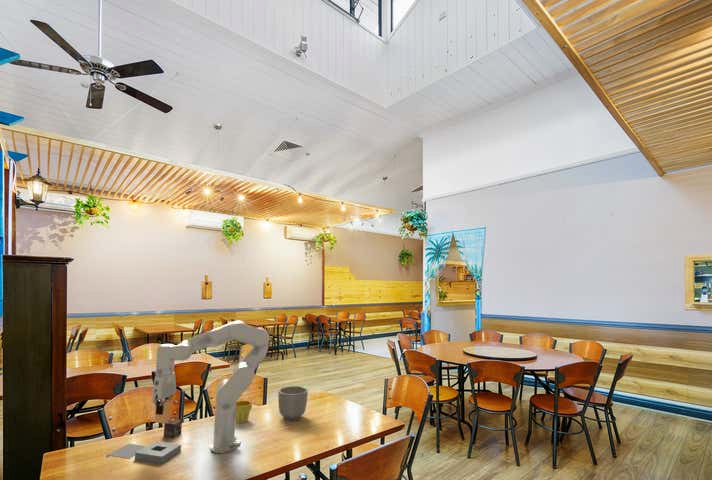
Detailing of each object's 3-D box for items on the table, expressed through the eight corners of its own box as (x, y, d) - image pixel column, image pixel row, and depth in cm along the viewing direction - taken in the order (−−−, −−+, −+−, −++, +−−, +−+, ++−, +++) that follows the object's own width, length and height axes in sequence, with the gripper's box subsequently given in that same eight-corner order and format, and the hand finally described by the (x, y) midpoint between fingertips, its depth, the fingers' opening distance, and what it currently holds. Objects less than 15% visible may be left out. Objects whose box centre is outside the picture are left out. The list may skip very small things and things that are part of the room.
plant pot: (234, 425, 202) (235, 407, 203) (230, 419, 211) (231, 401, 212) (252, 422, 208) (253, 404, 209) (248, 416, 216) (249, 399, 217)
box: (173, 439, 184) (174, 424, 185) (162, 438, 185) (164, 423, 186) (181, 434, 190) (182, 419, 191) (171, 433, 191) (172, 418, 192)
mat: (149, 448, 174) (149, 446, 174) (128, 459, 162) (129, 458, 163) (128, 444, 177) (128, 443, 177) (106, 456, 165) (106, 454, 165)
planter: (282, 412, 225) (284, 385, 227) (310, 414, 222) (311, 386, 224) (272, 422, 208) (274, 393, 210) (302, 425, 206) (303, 395, 207)
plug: (169, 420, 169) (170, 400, 170) (163, 423, 166) (165, 402, 167) (160, 419, 170) (161, 399, 171) (154, 421, 167) (156, 401, 168)
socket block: (180, 452, 170) (181, 444, 171) (161, 465, 159) (162, 456, 159) (155, 448, 173) (155, 441, 174) (134, 460, 162) (135, 452, 162)
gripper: (158, 376, 161) (156, 420, 159) (184, 367, 177) (182, 407, 175) (144, 375, 163) (141, 418, 161) (170, 366, 179) (168, 405, 177)
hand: (162, 412), depth 168 cm, fingers closed on plug, 3 cm apart
